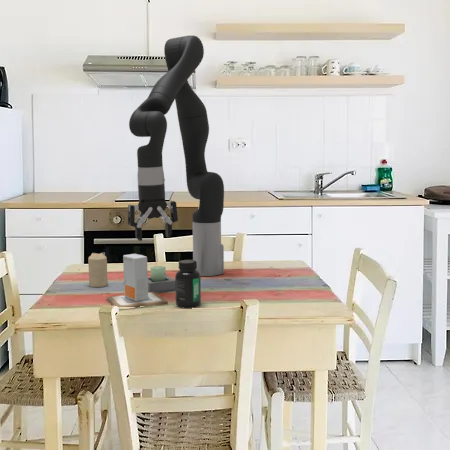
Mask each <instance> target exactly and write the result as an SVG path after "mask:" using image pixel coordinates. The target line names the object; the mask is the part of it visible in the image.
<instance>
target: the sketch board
mask: <svg viewBox="0 0 450 450" xmlns="http://www.w3.org/2000/svg"><path fill="white" fill-rule="evenodd" d="M105 298H106V299H105V300H106V301H107V302H108V303H109V304H110V303H111V304H110V305H111V306H112V305H115V306H118V307H140V306H149V307H154V306H153V305H157V306H164V305H168V304H169V302H168V300H166V299H165V298H163V297H162V296H161V295H160V294H159V293H156V292H148V299H145V300H140V301H134V300H132V299H129V298H126V297H124V294H119V295H112V296H106V297H105Z"/></svg>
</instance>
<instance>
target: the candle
mask: <svg viewBox="0 0 450 450" xmlns="http://www.w3.org/2000/svg"><path fill="white" fill-rule="evenodd" d="M87 261H88V284H89V287H91V288H101V287H102V288H103V287H106V286H108V260H107V256H106V255H105V254H104V253H103V252H100V253H96V252H92V253H91V255H90V256H88V260H87Z"/></svg>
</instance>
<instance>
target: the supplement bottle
mask: <svg viewBox="0 0 450 450" xmlns="http://www.w3.org/2000/svg"><path fill="white" fill-rule="evenodd" d="M177 267H178V271H176V273H175V275H174V277H175V278H174V280H175V290H176V291H175V305H176V306H177V308H182V307H184V308H183V309H191V308H192V307H194V308H197V306H198V307H200V306H201V304H202V283H201V279H202V276H201V275H200V273H199V271H197V270H196V268H197V261H195V260H193V259H184V260H183V259H182V260H179V261H178V266H177Z"/></svg>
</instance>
